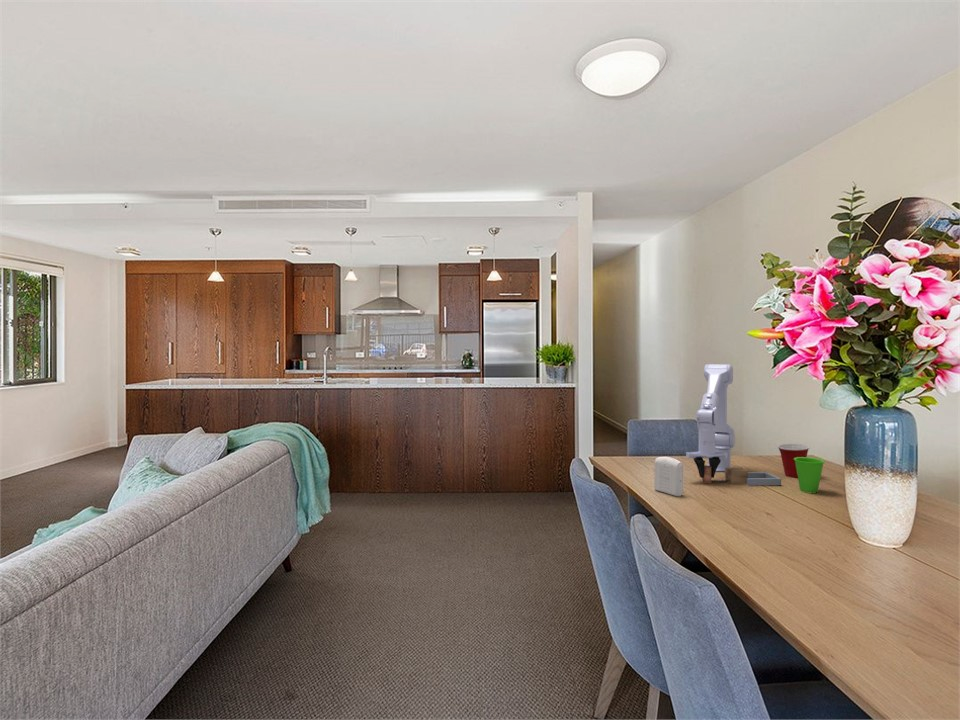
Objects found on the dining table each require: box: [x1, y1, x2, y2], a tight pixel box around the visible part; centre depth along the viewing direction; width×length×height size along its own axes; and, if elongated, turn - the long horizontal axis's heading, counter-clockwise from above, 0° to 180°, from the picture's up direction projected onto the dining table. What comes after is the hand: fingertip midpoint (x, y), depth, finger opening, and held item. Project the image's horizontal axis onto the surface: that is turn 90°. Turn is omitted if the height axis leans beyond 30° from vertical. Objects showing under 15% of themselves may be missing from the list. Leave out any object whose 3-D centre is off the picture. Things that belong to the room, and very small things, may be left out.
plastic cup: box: [777, 443, 810, 479], centre depth 197 cm, size 11×11×12 cm
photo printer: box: [654, 456, 684, 497], centre depth 177 cm, size 10×4×12 cm, turn 31°
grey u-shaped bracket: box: [746, 471, 782, 487], centre depth 189 cm, size 10×12×2 cm
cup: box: [794, 457, 826, 494], centre depth 177 cm, size 9×9×11 cm
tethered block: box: [701, 464, 749, 485], centre depth 189 cm, size 5×16×6 cm, turn 89°
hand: (706, 477), depth 189 cm, fingers closed on tethered block, 3 cm apart
